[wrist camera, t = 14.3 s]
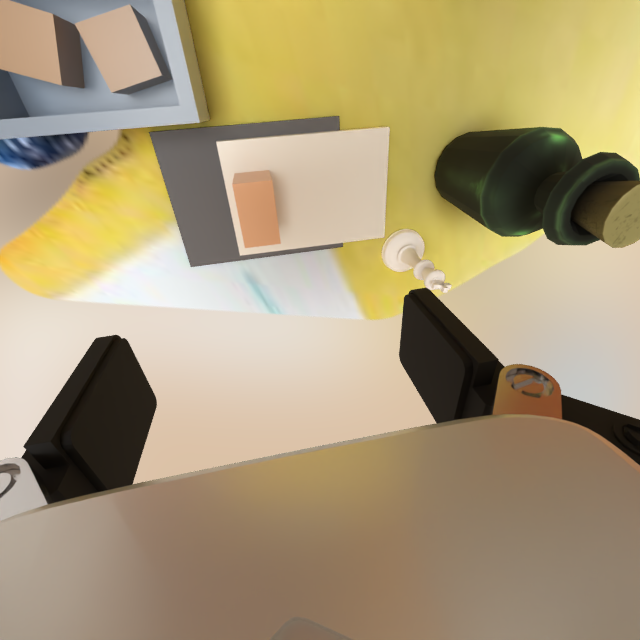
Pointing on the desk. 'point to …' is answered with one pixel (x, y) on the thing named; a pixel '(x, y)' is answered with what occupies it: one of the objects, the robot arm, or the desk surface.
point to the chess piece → (412, 258)
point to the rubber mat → (216, 184)
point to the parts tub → (96, 66)
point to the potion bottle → (541, 186)
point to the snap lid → (306, 188)
